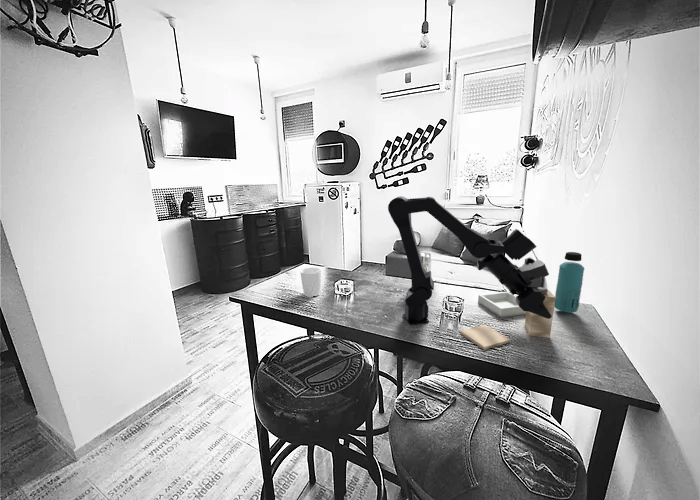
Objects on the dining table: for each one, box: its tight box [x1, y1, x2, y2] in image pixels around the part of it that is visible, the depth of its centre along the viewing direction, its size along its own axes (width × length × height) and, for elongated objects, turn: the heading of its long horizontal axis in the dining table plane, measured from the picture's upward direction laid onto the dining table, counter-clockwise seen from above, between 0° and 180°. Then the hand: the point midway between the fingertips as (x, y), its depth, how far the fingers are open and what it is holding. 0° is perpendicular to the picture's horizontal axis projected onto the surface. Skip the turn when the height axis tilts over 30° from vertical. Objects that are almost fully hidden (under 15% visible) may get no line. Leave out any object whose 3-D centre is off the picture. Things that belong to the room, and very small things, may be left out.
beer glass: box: [419, 251, 432, 272], centre depth 114 cm, size 7×7×15 cm
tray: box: [477, 291, 526, 318], centre depth 98 cm, size 12×12×3 cm
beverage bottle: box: [554, 251, 585, 314], centre depth 91 cm, size 6×7×20 cm
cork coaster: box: [459, 324, 511, 351], centre depth 81 cm, size 9×9×1 cm
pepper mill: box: [524, 286, 556, 339], centre depth 81 cm, size 5×5×13 cm
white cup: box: [300, 267, 322, 298], centre depth 115 cm, size 8×8×10 cm
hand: (544, 310), depth 81 cm, fingers open, 9 cm apart
